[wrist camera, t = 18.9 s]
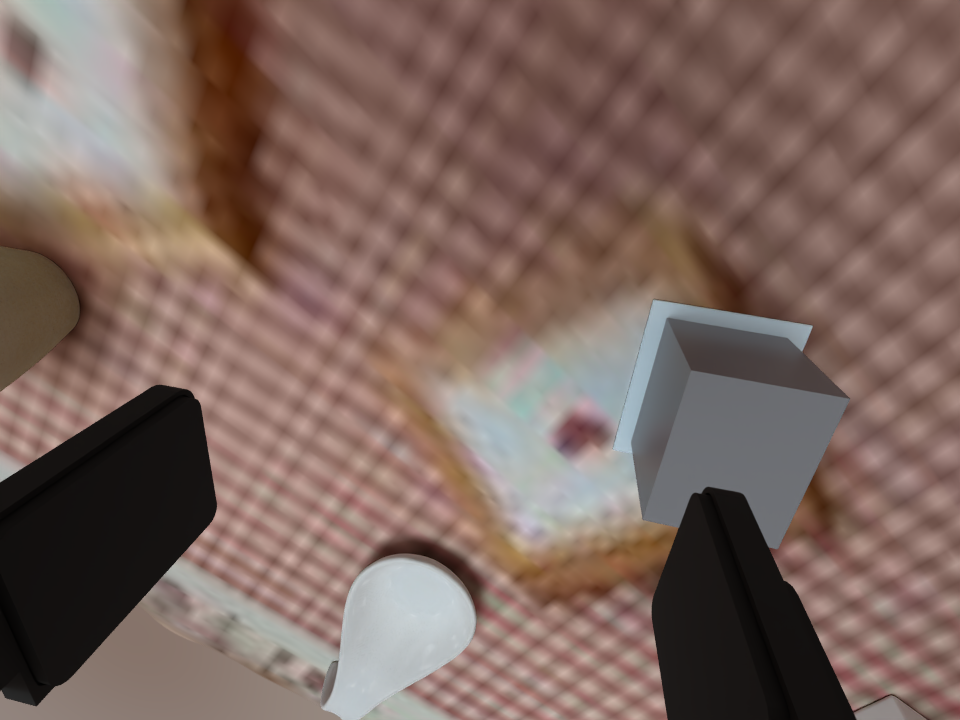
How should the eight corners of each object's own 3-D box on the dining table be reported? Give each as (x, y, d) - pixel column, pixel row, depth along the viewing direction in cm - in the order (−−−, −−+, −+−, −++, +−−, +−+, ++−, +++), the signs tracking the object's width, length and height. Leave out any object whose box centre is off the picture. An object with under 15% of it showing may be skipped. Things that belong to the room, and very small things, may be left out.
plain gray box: (666, 316, 34) (691, 370, 26) (786, 336, 33) (850, 399, 25) (630, 441, 38) (642, 519, 30) (736, 462, 37) (777, 549, 29)
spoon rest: (395, 512, 46) (364, 573, 39) (506, 577, 46) (493, 647, 40) (306, 646, 56) (269, 712, 50) (397, 698, 57) (373, 770, 50)
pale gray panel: (653, 299, 34) (653, 299, 34) (811, 325, 33) (812, 326, 32) (612, 448, 39) (612, 449, 39) (748, 475, 38) (749, 477, 37)
